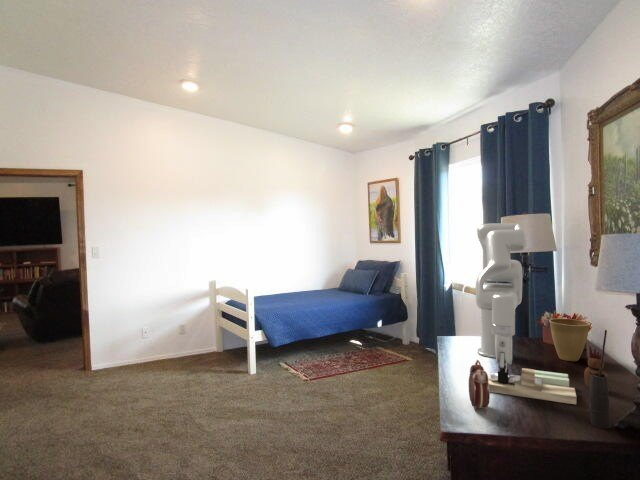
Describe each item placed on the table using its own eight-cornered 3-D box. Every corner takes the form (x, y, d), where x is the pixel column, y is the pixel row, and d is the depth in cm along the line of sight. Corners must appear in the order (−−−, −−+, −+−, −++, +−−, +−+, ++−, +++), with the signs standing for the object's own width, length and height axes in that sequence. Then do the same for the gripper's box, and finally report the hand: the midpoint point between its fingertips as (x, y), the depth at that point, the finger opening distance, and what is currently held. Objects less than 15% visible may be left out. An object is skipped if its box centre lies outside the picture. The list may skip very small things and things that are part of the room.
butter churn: (569, 418, 129) (570, 324, 128) (596, 415, 131) (597, 322, 130) (595, 432, 120) (596, 332, 119) (623, 428, 122) (625, 330, 122)
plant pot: (595, 364, 178) (596, 326, 177) (556, 363, 180) (557, 325, 180) (580, 354, 192) (580, 318, 192) (544, 353, 195) (544, 317, 194)
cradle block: (533, 382, 159) (533, 369, 159) (567, 386, 154) (567, 374, 154) (533, 388, 153) (533, 376, 153) (569, 393, 148) (569, 380, 148)
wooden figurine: (580, 387, 153) (581, 345, 153) (591, 385, 156) (592, 343, 155) (599, 394, 147) (600, 350, 147) (610, 391, 149) (611, 348, 149)
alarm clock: (490, 416, 132) (490, 366, 131) (473, 415, 132) (473, 366, 132) (483, 401, 142) (483, 356, 142) (467, 400, 143) (467, 355, 143)
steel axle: (490, 381, 153) (490, 373, 153) (491, 379, 156) (491, 371, 155) (542, 389, 146) (542, 380, 146) (541, 386, 148) (541, 377, 148)
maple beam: (485, 382, 159) (485, 363, 159) (574, 395, 147) (574, 374, 146) (483, 390, 152) (483, 370, 151) (576, 404, 139) (576, 382, 139)
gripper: (514, 335, 143) (513, 391, 143) (515, 325, 158) (515, 375, 158) (489, 333, 146) (489, 387, 147) (493, 323, 161) (493, 372, 161)
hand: (503, 380), depth 152 cm, fingers closed on steel axle, 3 cm apart
